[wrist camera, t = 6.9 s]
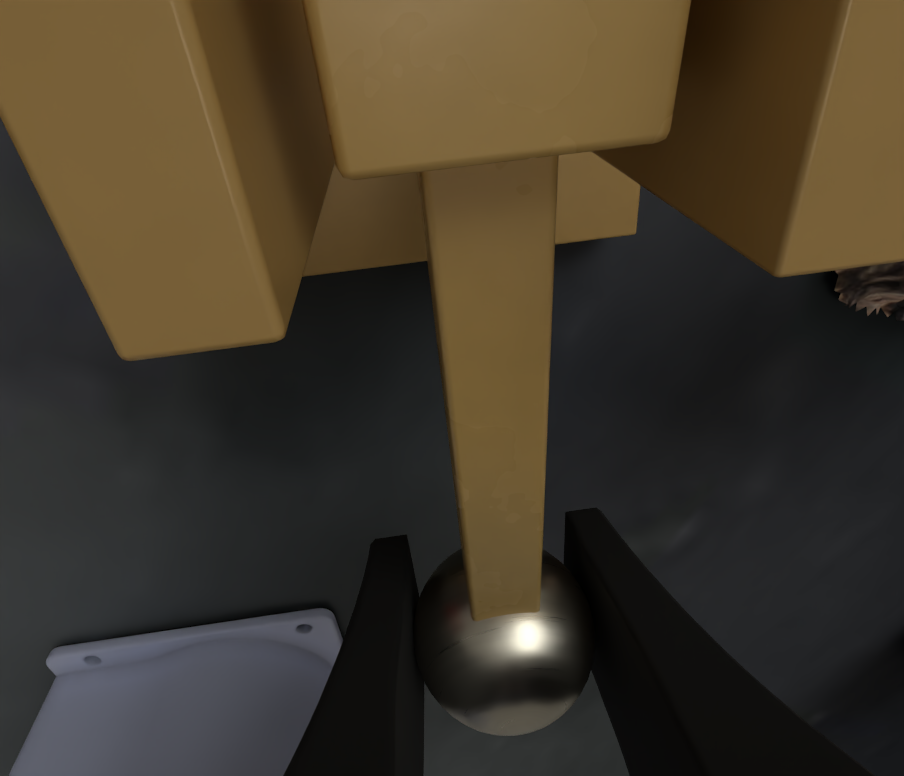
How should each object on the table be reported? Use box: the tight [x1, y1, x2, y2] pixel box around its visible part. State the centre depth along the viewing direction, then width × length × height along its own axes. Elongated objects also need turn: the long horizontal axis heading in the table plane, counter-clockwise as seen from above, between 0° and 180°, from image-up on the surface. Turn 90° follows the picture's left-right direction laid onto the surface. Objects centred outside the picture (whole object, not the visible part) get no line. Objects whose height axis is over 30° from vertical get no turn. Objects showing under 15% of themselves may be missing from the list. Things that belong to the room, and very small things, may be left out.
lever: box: [301, 0, 691, 736], centre depth 7 cm, size 13×3×3 cm, turn 5°
